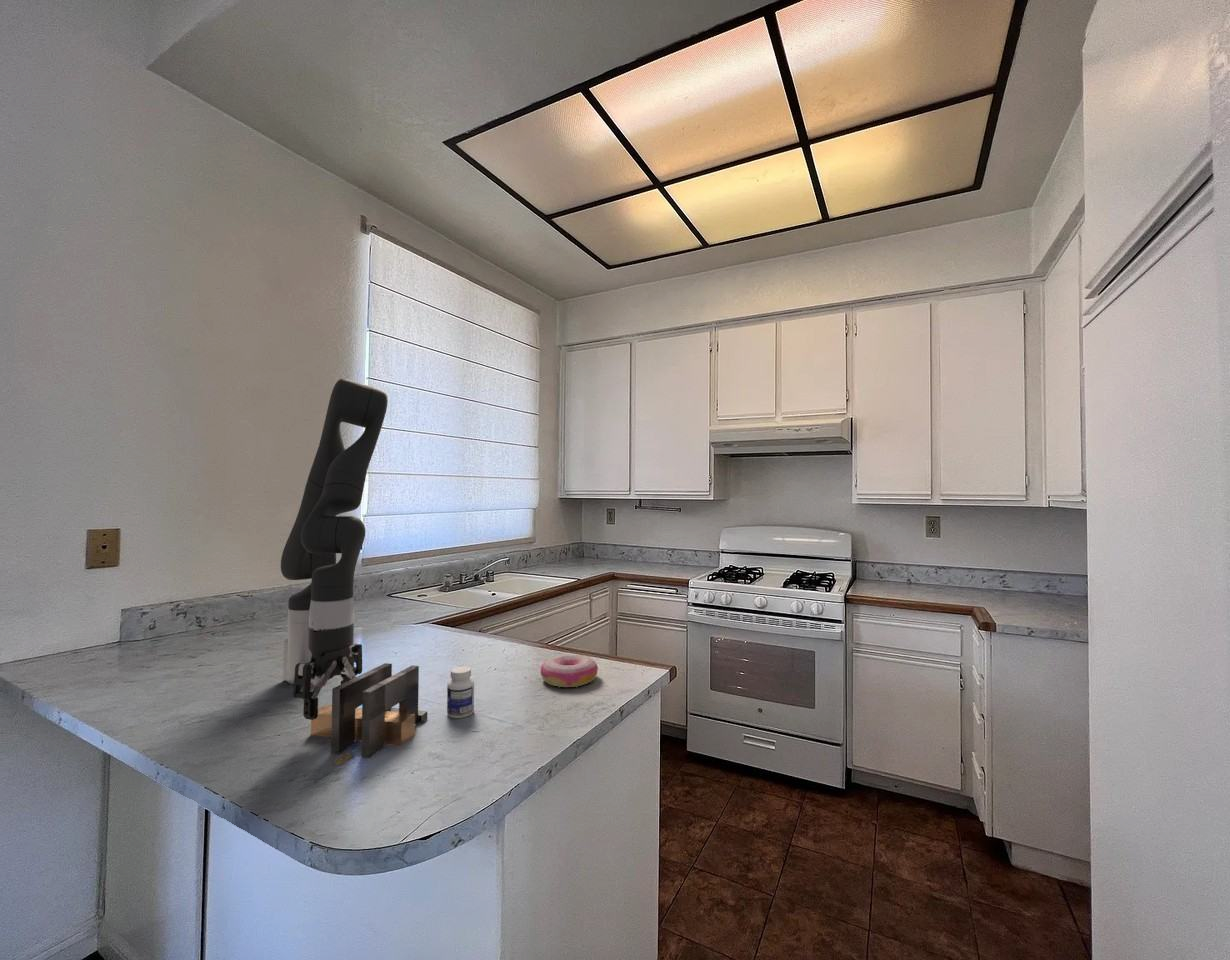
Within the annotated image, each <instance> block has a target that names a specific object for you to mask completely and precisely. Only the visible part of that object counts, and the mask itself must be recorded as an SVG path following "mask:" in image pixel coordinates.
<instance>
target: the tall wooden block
mask: <svg viewBox="0 0 1230 960" xmlns="http://www.w3.org/2000/svg"><path fill="white" fill-rule="evenodd" d="M331 733H332V704H327V705H324V706H322V707H320V708H318V717H317V718H316V719H314V720H310V735H311V736H317V737H324V738H325V737H326V738H331ZM415 736H416V725H415V714H409V713H400V712H391V711H385V724H384V745H389V746H397V747H398V746H399V747H402V746H403V745H405V744H406V743H407V742H409V741H410V740H411V739H413V738H414V737H415ZM356 741H358V742H362V707H361V708H360V707H357V708H355V742H356Z"/></svg>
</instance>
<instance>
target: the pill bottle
mask: <svg viewBox="0 0 1230 960" xmlns="http://www.w3.org/2000/svg"><path fill="white" fill-rule="evenodd" d="M471 676H472V668H471V667H469V666H457V667H453V668H451V669H450V680H449V681H448V682H447V688H446V689H447V690H446V691H447V694H446V695H447V696H446V697H447V698H446V701H447V702H446V714H447V716H448V717H449V718H452V719H463V717H464V718H467V717H469V716H472V714H473V713H474V711H475V681H474V679H473V678H472V677H471Z"/></svg>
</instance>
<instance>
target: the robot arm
mask: <svg viewBox="0 0 1230 960" xmlns="http://www.w3.org/2000/svg"><path fill="white" fill-rule="evenodd" d="M388 403H389V402H388V395H387V392H385V391H384V390H382V389H380V388H377V387H374V386H371V385H369V384H365V383H361V382H358V381H355V380H351V379H346V378H339V379H338V380H337V381H336V383H335V384H334V386H333V388H332V389H331V394H330V397H329V401H328V406H327V409H326V414H325V419H324V423H323V428H322V431H321V432H322V433H321V437H320V440H319V444H318V448H317V450H316V453H315V456H314V459H313V462H312V465H311V468H310V471H309V474H308V477H307V480H306V484H305V487H304V490H303V494H302V497H301V498H302V499H301V503H300V506H299V509H298V512H297V515H296V518H295V522H294V523H293V526H292V528H291V531H290V532H289V536H288V537H287V539H286V542H285V545H284V547H283V551H282V553H281V559H280V571H281V574H282V576H283V578H284V579H287V580H288V581H302V580H303V581H304V580H311V582H310V584H309V585H308V586H306V587H305V588H303V589H302V590H300V591H298V592H295V593H294V594H292V595H290V597H289V598H288V603H287V604H288V607H287V609H288V611H287V613H288V614H287V639H285V640H284V642H283V674H282V675H283V676H282V678H283V679H282V680H283V681H284V682H287V683H288V684H291V685H293V688H292V689H293V691H292V692H293V693H292V697H293V699H300V700H303V708H302V709H303V717H304V719H306V720H310V721H311V720H314V719H316V718H317V717H318V709H319V697H318V695H319V694H320V692H321V690H322V688H323V687H325V686H326V684H327V682H328V681H329V680H331V679H333V678H334V677H336V676H338V677H340V679H341V680H340V685H341V684H343V683H345V682H347V681H349V680H351V679H353V678H355V677H357V676H358V675H362V674H363V673H362V672H363V645H362V643H361V644H360V643H354V638H355V637H354V636H355V635H354V634H355V633H354V631H355V630H354V629H355V628H354V627H355V603H354V582H355V580H354V579H355V570H356V568H357V567H356V566H357V562H358V559H359V557H360V554H361V553H360V552H361V549H362V547H363V544H364V542H365V538H366V526H365V524H364V522H363V521H362V520H361V519H360V518H359V517H358V516H353V515H350V516H349V515H347V516H345V515H344V516H342V515H341V514H344V513H348V512H353V511H355V510H357V509H358V508H359V507H360V505H361V504H362V500H363V494H364V493H363V492H364V488H365V483H366V477H367V473H368V469H369V466H370V463H371V460H372V457H373V454H374V452H375V449H376V446H377V442H378V440H379V437H380V434H381V430H382V427H383V423H384V421H385V418H386V414H387V409H388ZM341 423H346V424H350V425H354V426H357V427H361V428H364V430H363V432H362V434H361V435H360V436H359V438H358V439H356V440H355V442H353V443H352V444H350V446H348V447H347V448H345V446H344V441H343V439H342V438H343V437H342V432H341ZM338 515H339V516H338ZM337 554H340V555H341V556H340V558H339V560H338V561H337ZM312 688H313V689H312ZM311 690H312V691H311Z"/></svg>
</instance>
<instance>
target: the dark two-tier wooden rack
mask: <svg viewBox="0 0 1230 960" xmlns="http://www.w3.org/2000/svg"><path fill="white" fill-rule="evenodd" d="M392 672H393V664H392V663H387V662H386V663H385V662H384V663H383V664H381V665H379V666H377V667H374V668H372V669H370V670H368V671H366V672H365V673H364V672H363V673H361V674H359V675H357V676H356V677H355V678H353V679H351V680H349V681H347V682H345V683H343V684H341V683H340V684H339V685H337V686H334V687H333V688H332V689H331V690H332V691H331V695H332V696H331V705H332V733H331V737H330V738H331V741H330V742H331V744H330V753H331V754H335V755H339V754H341V753H342V752H344V751H345V750H347V749H349V748H350V747H352V746H353V745H355V744H356V740H355V708H360V707H361V708H362V741H361V749H360V750H361V755H360V756H361V758H364V759H371V758H372V757H373V756H374V755H376V754H377V753H379V752H380V751H382V750H383V749H384V748H385V744H384V724H385V711H391V712H400V713H409V714H415V726H416V725H417V724H423V723H424V722H426V721H427V720H428V711H426V710H419V689H420V688H419V679H420V678H419V675H420V674H419V672H420V667H419V665H410V666H409V667H406V668H405V669H402V670H401V671H399V672H397V673H395V674H392ZM396 705H398V708H397V707H395V706H396ZM351 758H353V753H348V752H347V753H345V754H343V755H342V756H340V757H338V758H337V759H336V760H334V761H333V762H332V765H335V766H340V765H342V764H344V763H345V762H346V761H348V760H350V759H351Z"/></svg>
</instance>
